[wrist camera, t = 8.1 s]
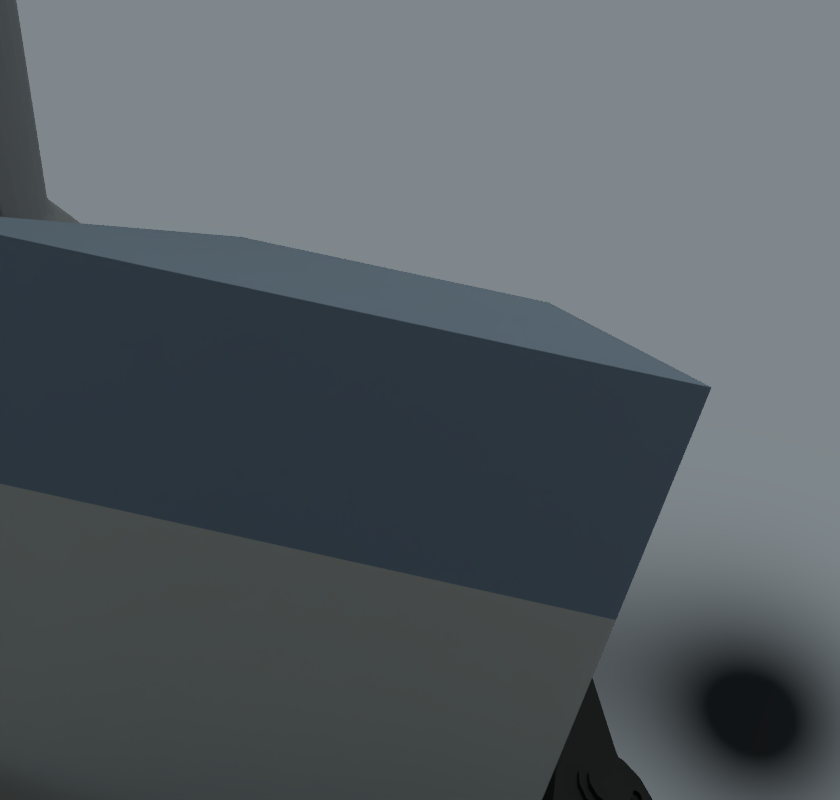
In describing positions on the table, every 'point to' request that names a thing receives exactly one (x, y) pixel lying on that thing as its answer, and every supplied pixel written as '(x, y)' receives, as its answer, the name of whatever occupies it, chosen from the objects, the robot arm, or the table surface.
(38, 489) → the milk carton
